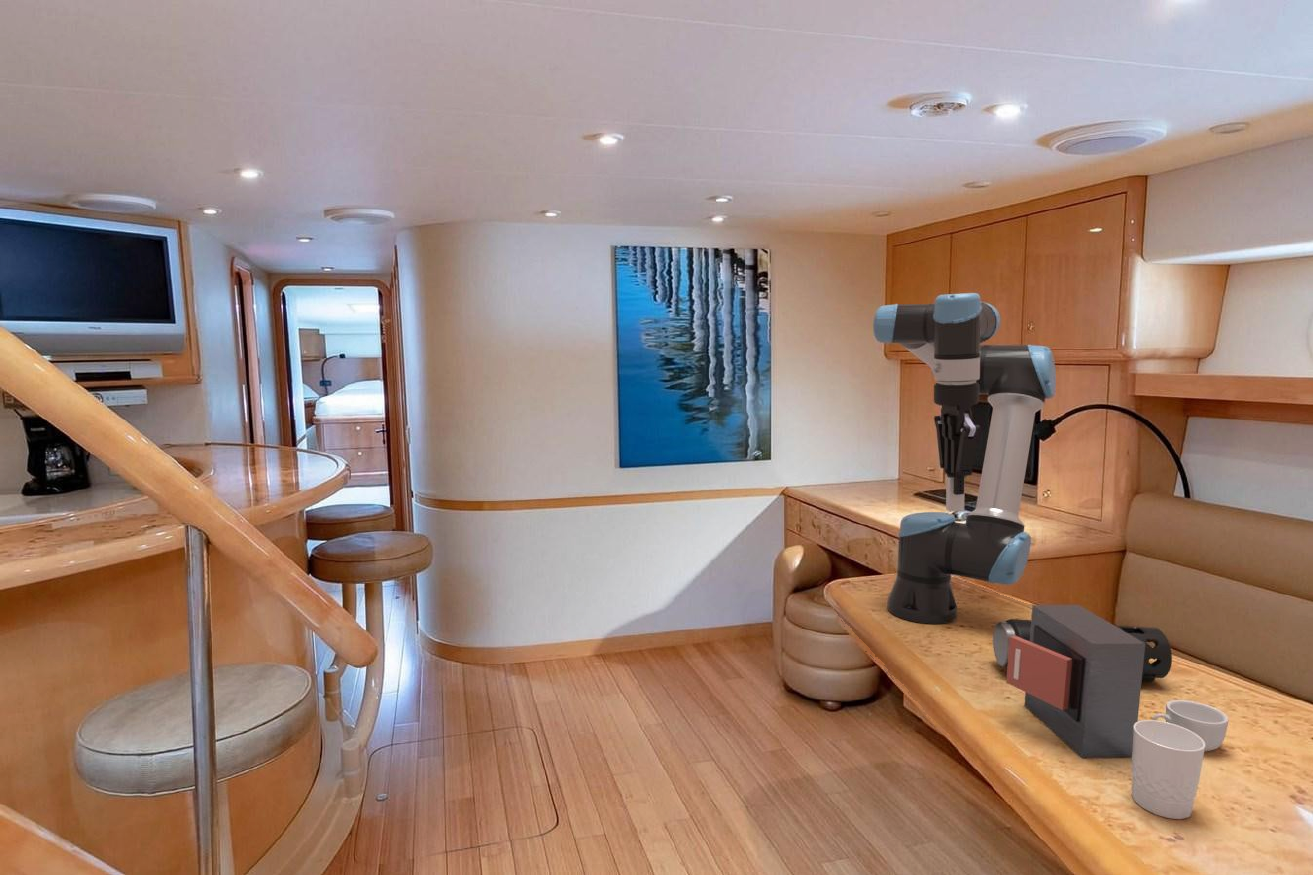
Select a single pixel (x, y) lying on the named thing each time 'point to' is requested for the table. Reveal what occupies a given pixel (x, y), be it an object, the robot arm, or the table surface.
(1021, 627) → the muzzle brake
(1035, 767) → the table surface
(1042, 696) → the rocker
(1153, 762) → the white cup
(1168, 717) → the teacup
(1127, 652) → the switch box
